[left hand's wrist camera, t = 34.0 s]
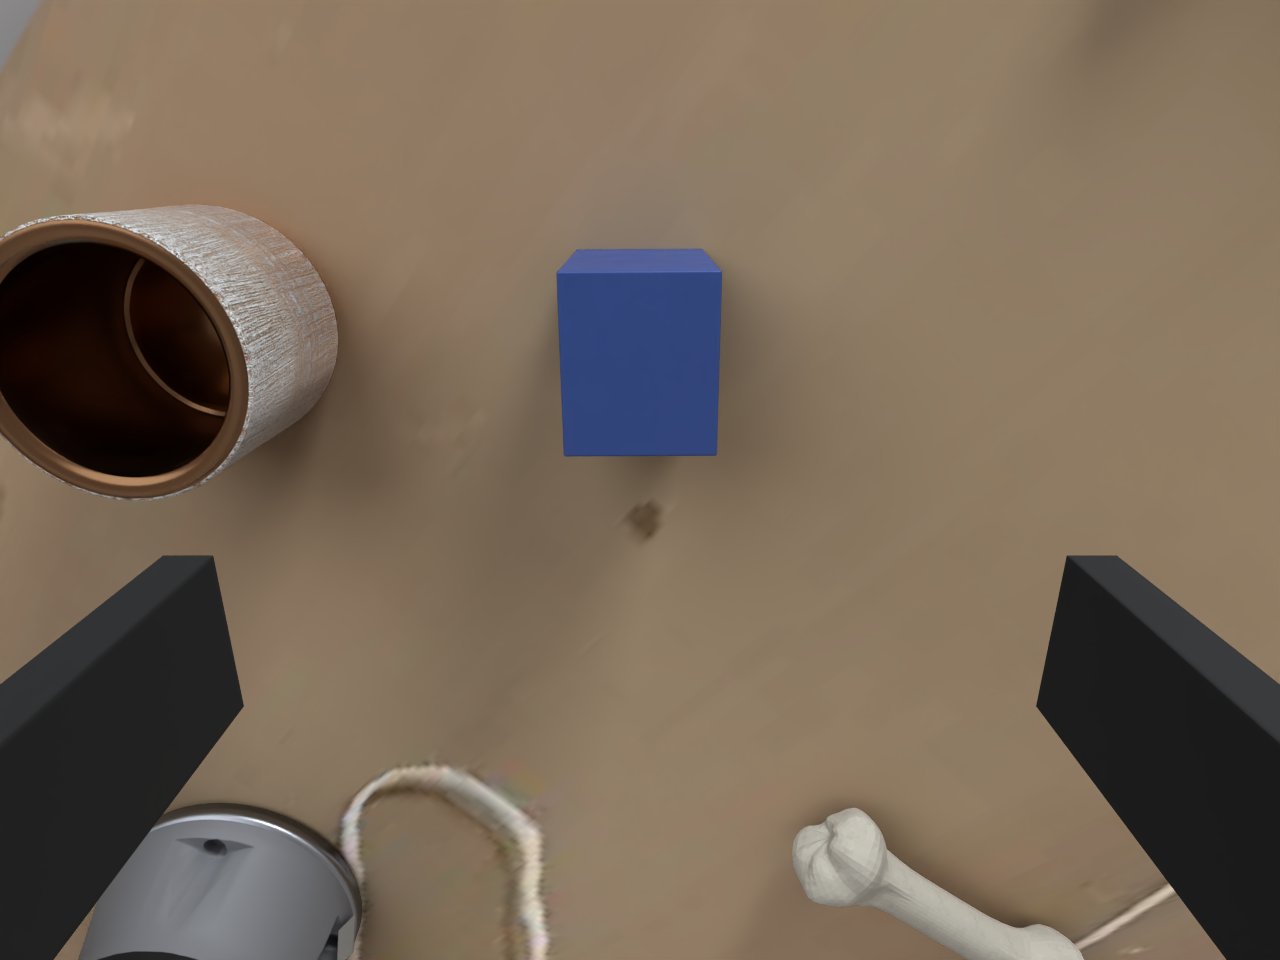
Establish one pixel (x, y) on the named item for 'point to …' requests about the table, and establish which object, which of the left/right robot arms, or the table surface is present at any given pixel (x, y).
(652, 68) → the table surface
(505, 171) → the table surface
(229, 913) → the left robot arm
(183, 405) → the planter
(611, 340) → the block
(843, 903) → the dog toy
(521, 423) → the table surface
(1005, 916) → the table surface
